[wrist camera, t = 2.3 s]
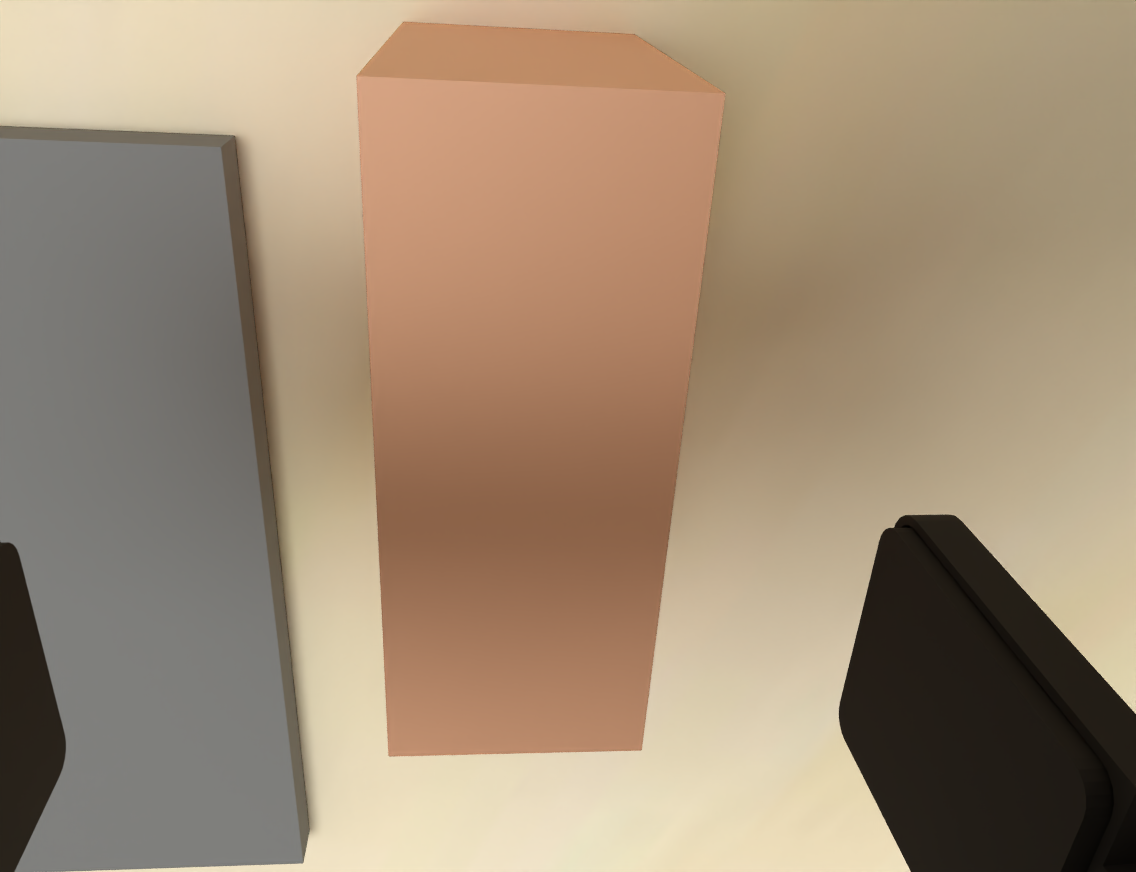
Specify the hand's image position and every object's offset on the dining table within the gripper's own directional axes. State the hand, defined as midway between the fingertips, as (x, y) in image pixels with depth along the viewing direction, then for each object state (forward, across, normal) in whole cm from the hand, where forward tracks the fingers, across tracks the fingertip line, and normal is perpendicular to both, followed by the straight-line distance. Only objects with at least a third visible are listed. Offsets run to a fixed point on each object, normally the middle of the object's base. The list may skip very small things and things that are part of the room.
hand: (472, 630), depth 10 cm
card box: (+10, -1, -1) cm, 10 cm away
